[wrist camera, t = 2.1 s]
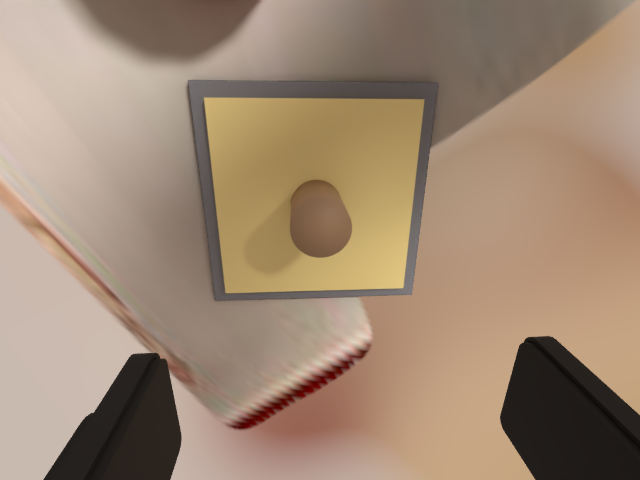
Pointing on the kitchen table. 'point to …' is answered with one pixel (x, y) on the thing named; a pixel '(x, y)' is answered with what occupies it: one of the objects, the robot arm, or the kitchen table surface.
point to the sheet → (304, 153)
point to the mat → (308, 90)
